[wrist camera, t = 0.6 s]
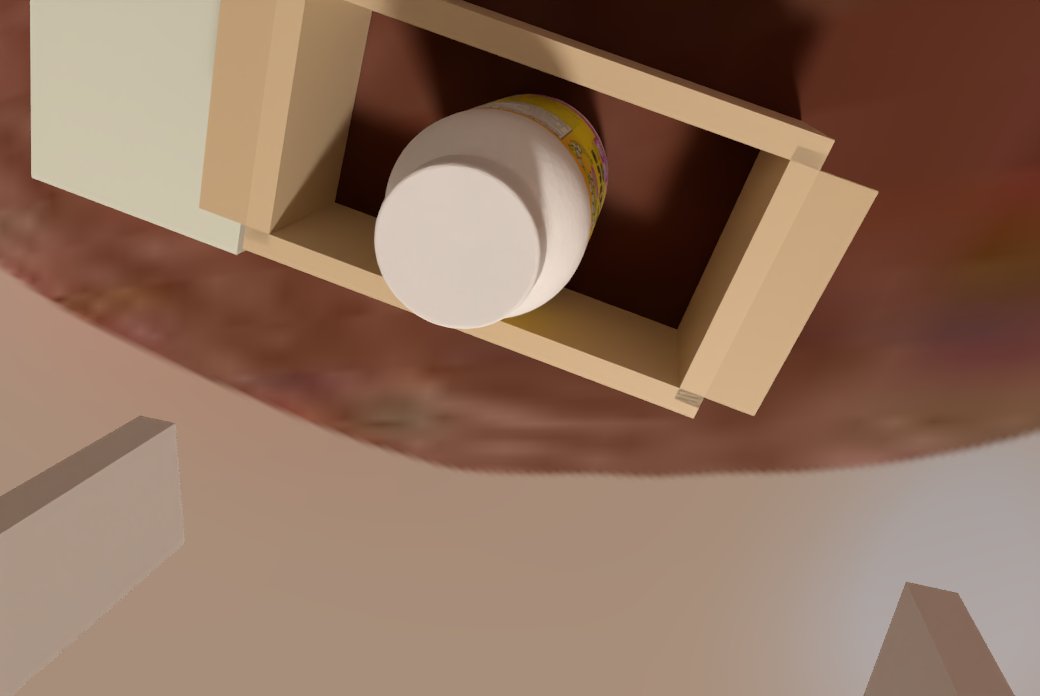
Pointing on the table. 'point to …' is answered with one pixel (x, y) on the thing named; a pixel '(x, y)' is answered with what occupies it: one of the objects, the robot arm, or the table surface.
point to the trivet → (127, 107)
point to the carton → (568, 315)
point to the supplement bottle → (491, 210)
